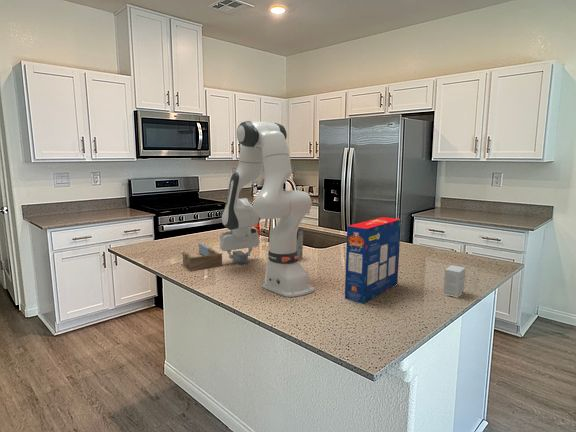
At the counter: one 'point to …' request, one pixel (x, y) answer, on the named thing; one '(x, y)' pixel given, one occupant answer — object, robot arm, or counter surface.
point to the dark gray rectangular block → (240, 257)
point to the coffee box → (299, 243)
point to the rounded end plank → (203, 249)
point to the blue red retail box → (372, 258)
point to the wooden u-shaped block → (202, 260)
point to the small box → (454, 280)
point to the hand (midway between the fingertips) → (239, 257)
